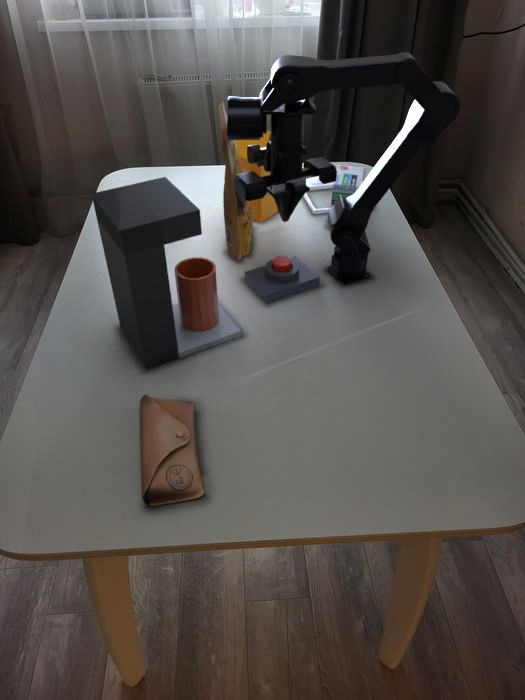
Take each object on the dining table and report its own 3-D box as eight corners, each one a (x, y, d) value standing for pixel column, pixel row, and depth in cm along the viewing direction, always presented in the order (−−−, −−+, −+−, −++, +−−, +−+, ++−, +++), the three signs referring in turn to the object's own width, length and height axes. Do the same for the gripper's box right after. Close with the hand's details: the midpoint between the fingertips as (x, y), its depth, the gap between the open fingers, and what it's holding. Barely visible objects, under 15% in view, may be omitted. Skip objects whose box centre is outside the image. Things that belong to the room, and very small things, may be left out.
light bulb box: (357, 231, 127) (363, 187, 120) (327, 228, 128) (332, 184, 121) (360, 208, 135) (366, 166, 128) (332, 206, 136) (337, 163, 129)
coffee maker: (209, 298, 108) (199, 168, 91) (241, 335, 99) (236, 200, 82) (120, 327, 101) (91, 193, 84) (146, 370, 92) (119, 230, 75)
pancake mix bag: (218, 264, 117) (209, 129, 98) (226, 220, 131) (219, 95, 113) (250, 265, 117) (247, 129, 98) (254, 221, 131) (252, 96, 113)
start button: (285, 261, 111) (285, 254, 110) (294, 270, 109) (295, 262, 107) (269, 266, 110) (269, 258, 108) (279, 275, 107) (279, 267, 106)
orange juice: (250, 200, 139) (249, 118, 126) (279, 210, 135) (281, 126, 122) (231, 212, 134) (227, 128, 121) (261, 222, 130) (260, 137, 117)
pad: (295, 264, 117) (295, 248, 114) (319, 286, 111) (320, 269, 108) (244, 281, 112) (244, 264, 110) (267, 304, 106) (267, 286, 104)
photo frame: (348, 173, 148) (372, 203, 135) (347, 177, 149) (371, 208, 136) (295, 178, 146) (314, 209, 133) (294, 182, 147) (313, 214, 133)
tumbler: (219, 307, 103) (216, 256, 96) (218, 331, 98) (214, 279, 91) (182, 308, 103) (176, 257, 96) (179, 331, 98) (172, 279, 91)
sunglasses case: (209, 495, 73) (179, 472, 69) (166, 518, 75) (134, 497, 71) (195, 398, 87) (169, 375, 82) (159, 419, 88) (131, 397, 84)
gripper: (309, 116, 105) (305, 194, 115) (218, 132, 98) (223, 213, 109) (342, 135, 97) (334, 217, 107) (246, 154, 91) (247, 239, 101)
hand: (284, 220), depth 106 cm, fingers closed
